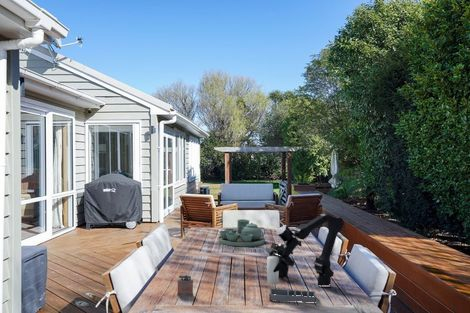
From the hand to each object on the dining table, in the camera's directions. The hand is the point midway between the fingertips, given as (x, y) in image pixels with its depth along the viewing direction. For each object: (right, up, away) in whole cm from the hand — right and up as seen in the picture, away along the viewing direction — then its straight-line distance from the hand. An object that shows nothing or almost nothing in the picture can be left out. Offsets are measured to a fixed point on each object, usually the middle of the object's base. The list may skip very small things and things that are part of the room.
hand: (270, 270), depth 202 cm
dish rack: (+10, -13, -6) cm, 17 cm away
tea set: (-13, -14, +130) cm, 132 cm away
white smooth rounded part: (+1, -7, +1) cm, 7 cm away
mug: (+9, -13, +30) cm, 34 cm away
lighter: (-44, -12, -3) cm, 45 cm away
